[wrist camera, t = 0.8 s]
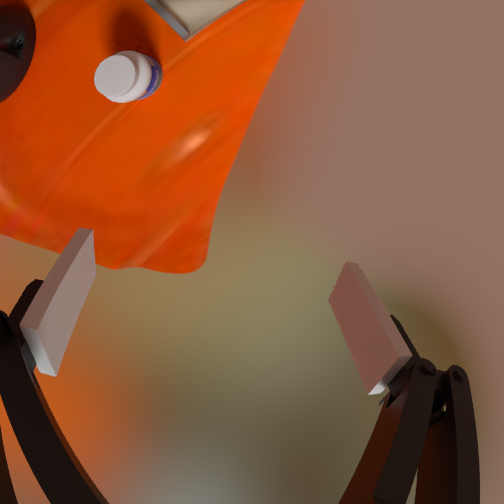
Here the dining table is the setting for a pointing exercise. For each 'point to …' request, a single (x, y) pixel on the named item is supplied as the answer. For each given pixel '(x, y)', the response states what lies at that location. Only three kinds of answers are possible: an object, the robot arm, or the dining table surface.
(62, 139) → the dining table surface
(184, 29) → the dock
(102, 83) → the pill bottle
